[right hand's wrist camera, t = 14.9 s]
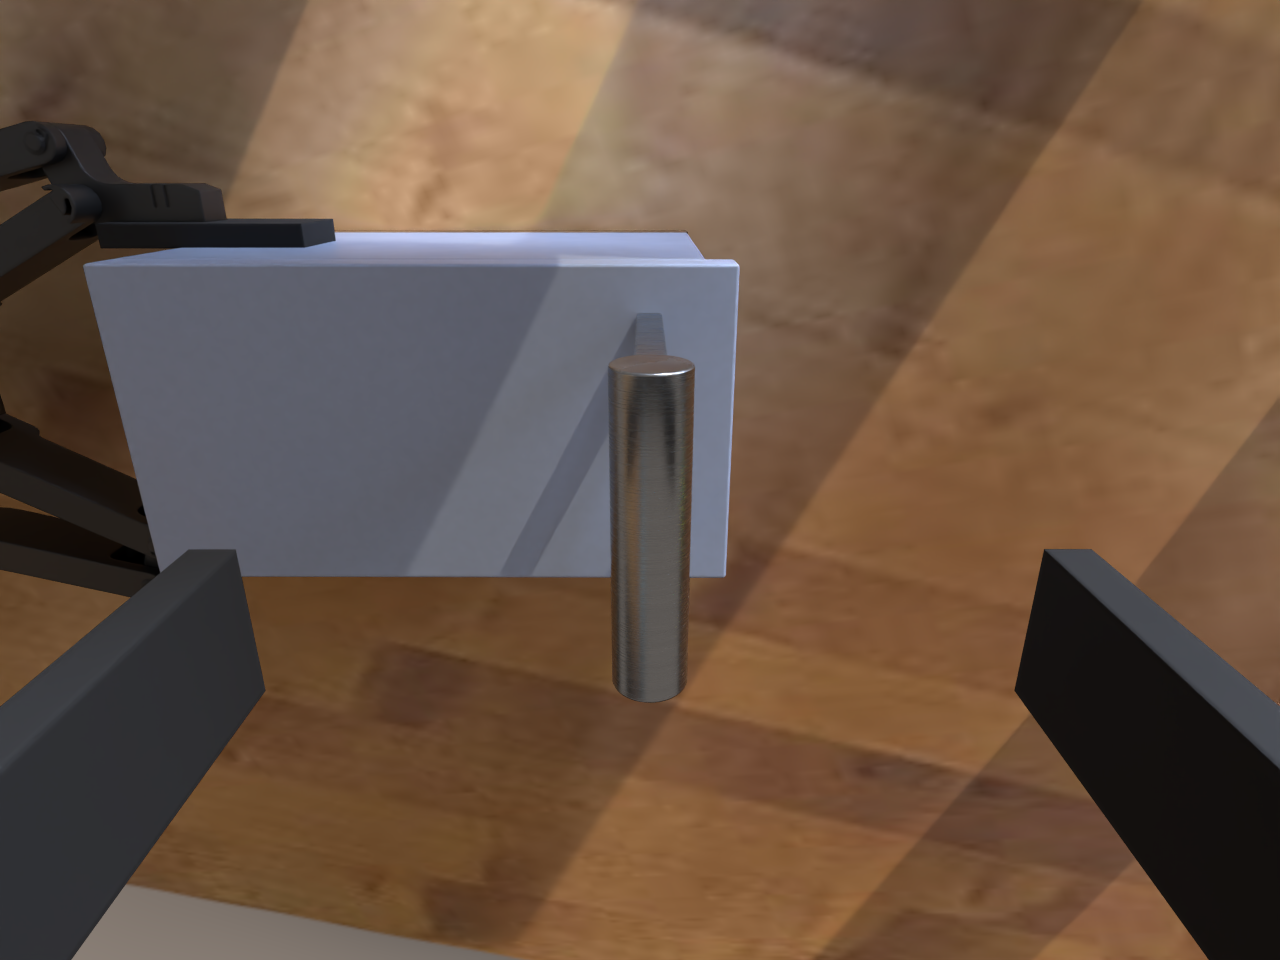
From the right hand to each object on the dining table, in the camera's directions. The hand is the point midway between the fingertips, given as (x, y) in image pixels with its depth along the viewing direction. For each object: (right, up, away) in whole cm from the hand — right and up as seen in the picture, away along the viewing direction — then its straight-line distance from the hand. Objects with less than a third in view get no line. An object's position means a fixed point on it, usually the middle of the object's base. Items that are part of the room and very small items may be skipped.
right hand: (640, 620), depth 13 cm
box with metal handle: (-6, +4, +10) cm, 13 cm away
